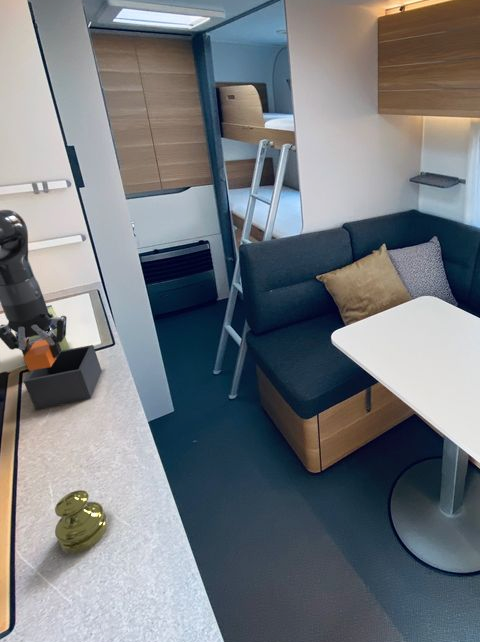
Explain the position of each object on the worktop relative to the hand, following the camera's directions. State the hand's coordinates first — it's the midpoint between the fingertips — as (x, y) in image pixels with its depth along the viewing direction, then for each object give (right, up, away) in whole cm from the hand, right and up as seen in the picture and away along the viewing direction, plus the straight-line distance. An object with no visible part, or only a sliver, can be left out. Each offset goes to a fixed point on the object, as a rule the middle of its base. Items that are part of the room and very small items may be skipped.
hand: (44, 357), depth 101 cm
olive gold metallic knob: (+27, -28, -24) cm, 46 cm away
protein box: (-19, -8, +27) cm, 34 cm away
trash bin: (-4, -13, +14) cm, 19 cm away
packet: (0, -1, 0) cm, 1 cm away
